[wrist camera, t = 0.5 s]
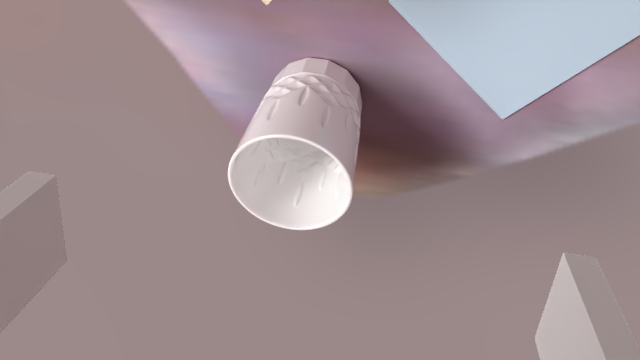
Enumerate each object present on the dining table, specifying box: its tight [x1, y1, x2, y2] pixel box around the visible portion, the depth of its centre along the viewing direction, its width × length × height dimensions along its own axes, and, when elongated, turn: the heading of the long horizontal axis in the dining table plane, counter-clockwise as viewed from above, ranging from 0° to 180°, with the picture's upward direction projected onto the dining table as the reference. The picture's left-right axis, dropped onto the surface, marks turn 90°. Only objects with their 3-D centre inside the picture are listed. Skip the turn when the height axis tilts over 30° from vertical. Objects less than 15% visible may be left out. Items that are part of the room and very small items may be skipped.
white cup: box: [228, 58, 362, 230], centre depth 40 cm, size 8×8×10 cm
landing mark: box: [389, 0, 640, 120], centre depth 37 cm, size 12×12×1 cm
